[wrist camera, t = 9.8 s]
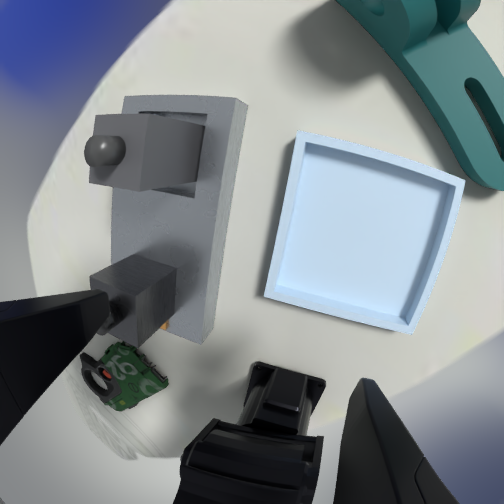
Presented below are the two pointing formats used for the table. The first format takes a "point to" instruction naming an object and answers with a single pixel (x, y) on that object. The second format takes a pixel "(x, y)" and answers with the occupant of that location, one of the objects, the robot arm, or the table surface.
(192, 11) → the table surface
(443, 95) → the bracket
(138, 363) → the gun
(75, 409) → the table surface
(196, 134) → the plug
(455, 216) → the tray
